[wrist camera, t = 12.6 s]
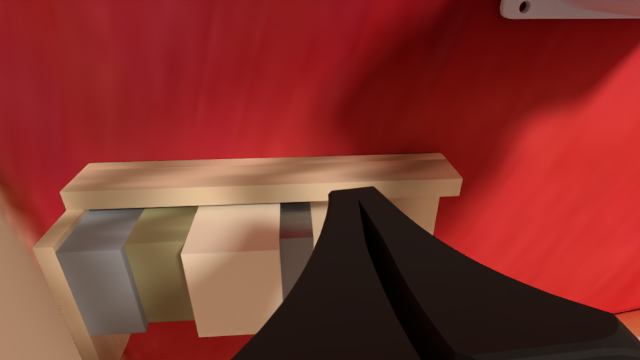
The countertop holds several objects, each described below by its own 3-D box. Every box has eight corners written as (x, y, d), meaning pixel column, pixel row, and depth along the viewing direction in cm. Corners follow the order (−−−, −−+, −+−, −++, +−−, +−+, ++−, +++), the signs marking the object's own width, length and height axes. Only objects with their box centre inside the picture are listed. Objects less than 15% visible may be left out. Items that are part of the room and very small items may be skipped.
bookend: (308, 187, 21) (313, 237, 17) (309, 264, 23) (314, 323, 19) (280, 188, 21) (279, 238, 17) (284, 265, 23) (284, 325, 19)
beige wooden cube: (280, 184, 21) (278, 249, 16) (284, 257, 23) (283, 332, 18) (205, 187, 21) (180, 254, 16) (217, 260, 23) (198, 337, 18)
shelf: (441, 153, 22) (488, 209, 16) (418, 285, 26) (450, 361, 21) (89, 163, 20) (23, 227, 15) (132, 300, 25) (93, 385, 20)
